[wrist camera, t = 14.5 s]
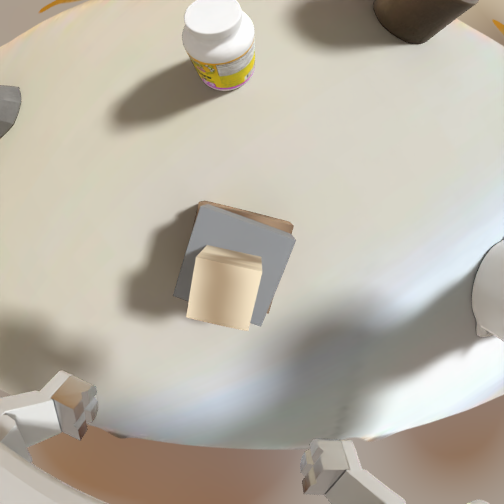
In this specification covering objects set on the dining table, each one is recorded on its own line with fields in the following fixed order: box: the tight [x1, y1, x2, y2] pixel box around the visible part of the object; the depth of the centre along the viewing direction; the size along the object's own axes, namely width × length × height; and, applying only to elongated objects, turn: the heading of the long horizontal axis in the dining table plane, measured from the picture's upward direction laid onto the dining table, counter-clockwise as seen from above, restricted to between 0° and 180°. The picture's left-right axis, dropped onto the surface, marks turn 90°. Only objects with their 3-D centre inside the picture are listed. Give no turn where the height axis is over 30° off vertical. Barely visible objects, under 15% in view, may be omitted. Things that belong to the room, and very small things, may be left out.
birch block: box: [186, 245, 262, 331], centre depth 24 cm, size 5×5×5 cm
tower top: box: [173, 204, 296, 326], centre depth 29 cm, size 9×9×4 cm
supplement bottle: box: [182, 0, 255, 91], centre depth 23 cm, size 7×7×13 cm
